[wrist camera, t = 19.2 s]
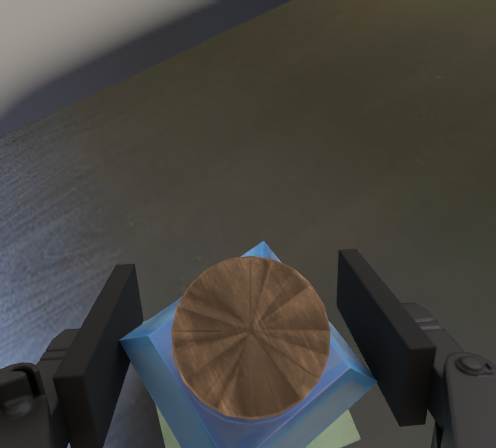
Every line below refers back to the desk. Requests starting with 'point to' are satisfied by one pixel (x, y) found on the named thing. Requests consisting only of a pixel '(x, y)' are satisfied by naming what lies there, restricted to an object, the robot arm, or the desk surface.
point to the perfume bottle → (247, 358)
